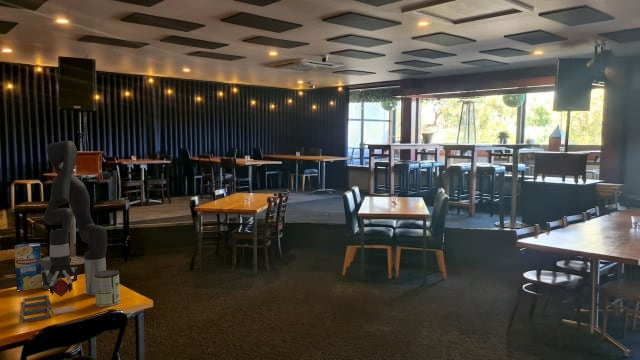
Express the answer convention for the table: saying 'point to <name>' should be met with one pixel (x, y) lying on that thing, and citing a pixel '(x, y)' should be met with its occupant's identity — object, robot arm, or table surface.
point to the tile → (63, 310)
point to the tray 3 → (35, 313)
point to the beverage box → (28, 266)
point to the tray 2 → (36, 305)
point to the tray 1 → (36, 298)
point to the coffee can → (107, 288)
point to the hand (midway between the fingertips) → (61, 292)
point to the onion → (61, 287)
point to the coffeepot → (46, 266)
